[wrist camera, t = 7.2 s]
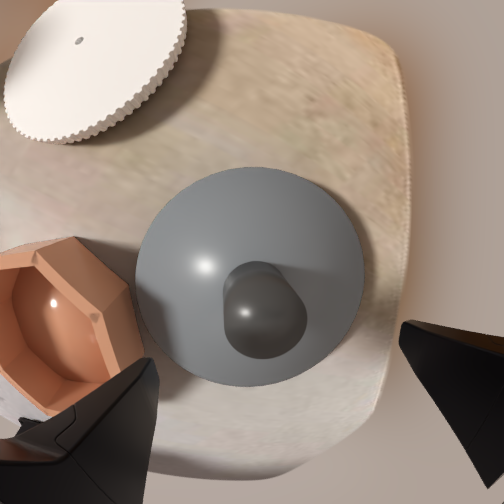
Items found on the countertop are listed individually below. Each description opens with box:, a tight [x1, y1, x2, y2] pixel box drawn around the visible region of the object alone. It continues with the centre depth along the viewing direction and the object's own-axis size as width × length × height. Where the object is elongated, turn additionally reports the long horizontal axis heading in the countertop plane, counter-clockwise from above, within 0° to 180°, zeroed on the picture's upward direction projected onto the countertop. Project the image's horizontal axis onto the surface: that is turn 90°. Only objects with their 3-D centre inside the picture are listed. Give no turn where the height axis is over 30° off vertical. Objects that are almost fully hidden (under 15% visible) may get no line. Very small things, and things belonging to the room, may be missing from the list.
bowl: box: [0, 236, 145, 417], centre depth 14 cm, size 12×12×4 cm
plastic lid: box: [4, 0, 187, 144], centre depth 12 cm, size 14×14×2 cm
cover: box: [135, 167, 365, 387], centre depth 14 cm, size 14×14×5 cm
